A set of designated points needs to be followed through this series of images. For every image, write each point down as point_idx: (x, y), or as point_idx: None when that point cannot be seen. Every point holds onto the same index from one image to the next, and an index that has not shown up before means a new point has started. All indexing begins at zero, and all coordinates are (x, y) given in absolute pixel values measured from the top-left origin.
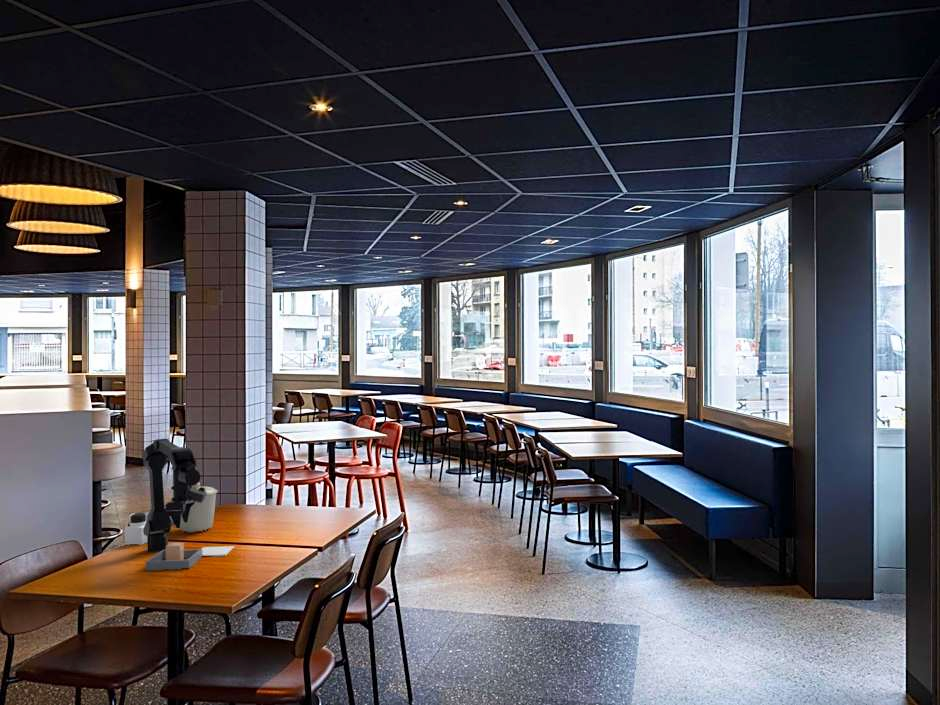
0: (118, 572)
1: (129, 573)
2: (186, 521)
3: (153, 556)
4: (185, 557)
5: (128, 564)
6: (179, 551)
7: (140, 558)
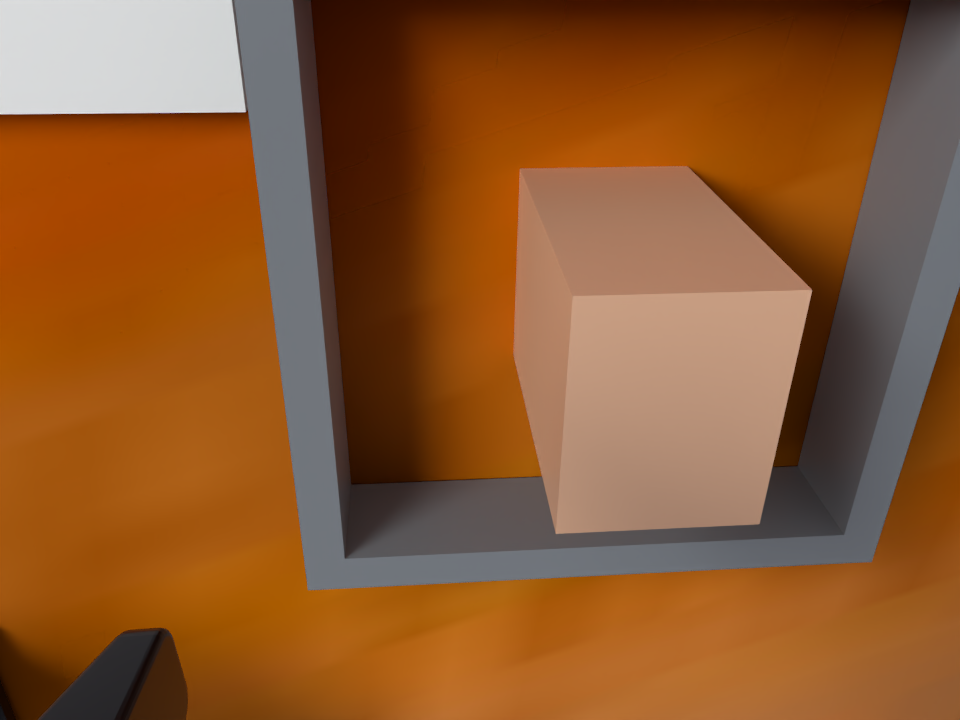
0: (806, 687)
1: (884, 593)
2: (160, 671)
3: (622, 570)
4: (325, 215)
5: (526, 716)
6: (765, 250)
7: (297, 705)
